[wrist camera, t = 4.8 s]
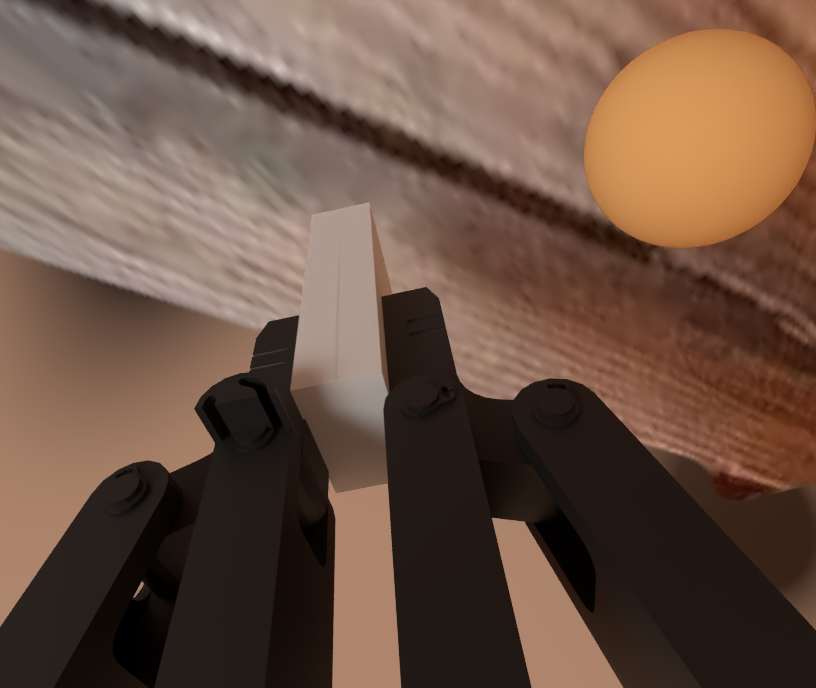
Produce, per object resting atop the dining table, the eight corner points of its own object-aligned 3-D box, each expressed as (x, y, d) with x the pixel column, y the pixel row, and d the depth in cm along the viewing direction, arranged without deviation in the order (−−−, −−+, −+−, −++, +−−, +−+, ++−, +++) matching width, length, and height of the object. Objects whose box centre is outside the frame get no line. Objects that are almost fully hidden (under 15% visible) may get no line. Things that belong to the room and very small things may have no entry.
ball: (560, 213, 19) (622, 304, 15) (558, 36, 15) (638, 88, 11) (721, 179, 19) (832, 261, 14) (755, -9, 15) (915, 26, 11)
